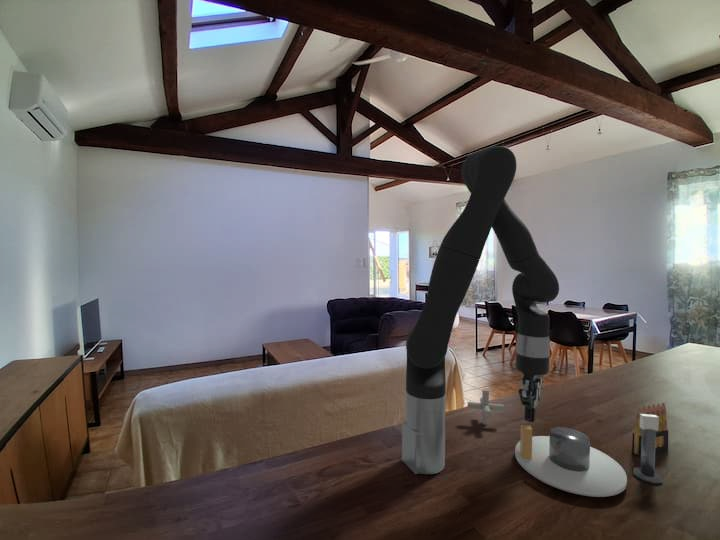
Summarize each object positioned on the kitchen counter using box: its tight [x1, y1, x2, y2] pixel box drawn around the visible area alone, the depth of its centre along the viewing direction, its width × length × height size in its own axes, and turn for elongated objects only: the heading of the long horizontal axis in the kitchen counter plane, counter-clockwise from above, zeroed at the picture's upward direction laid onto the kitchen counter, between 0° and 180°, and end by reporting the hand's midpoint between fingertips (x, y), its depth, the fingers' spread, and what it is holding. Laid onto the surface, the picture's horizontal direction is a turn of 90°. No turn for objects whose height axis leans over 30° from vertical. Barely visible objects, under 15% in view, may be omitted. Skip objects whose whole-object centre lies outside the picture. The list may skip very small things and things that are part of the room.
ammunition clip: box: [631, 402, 669, 457], centre depth 88 cm, size 11×2×12 cm, turn 108°
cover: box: [549, 426, 591, 472], centre depth 80 cm, size 8×8×6 cm
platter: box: [514, 424, 628, 498], centre depth 80 cm, size 22×22×8 cm
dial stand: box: [632, 414, 663, 485], centre depth 78 cm, size 5×5×14 cm
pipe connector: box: [467, 388, 505, 426], centre depth 103 cm, size 10×10×10 cm
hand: (530, 420), depth 87 cm, fingers closed
